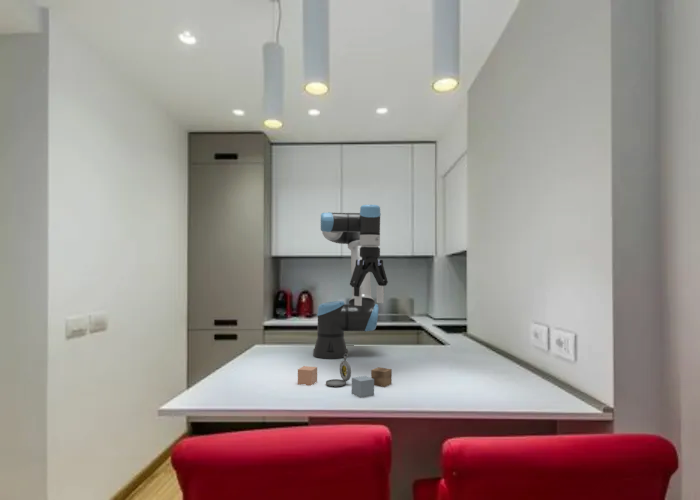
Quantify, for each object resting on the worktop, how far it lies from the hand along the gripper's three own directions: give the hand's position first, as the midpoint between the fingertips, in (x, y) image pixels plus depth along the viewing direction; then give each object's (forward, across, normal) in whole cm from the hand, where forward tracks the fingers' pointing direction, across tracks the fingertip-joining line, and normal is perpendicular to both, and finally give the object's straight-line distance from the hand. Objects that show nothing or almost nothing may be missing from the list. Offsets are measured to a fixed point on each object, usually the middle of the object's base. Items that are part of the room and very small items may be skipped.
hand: (369, 304), depth 166 cm
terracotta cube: (+25, -24, +8) cm, 36 cm away
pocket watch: (+25, -19, -2) cm, 32 cm away
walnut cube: (+25, -10, -12) cm, 30 cm away
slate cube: (+25, -23, -15) cm, 37 cm away
